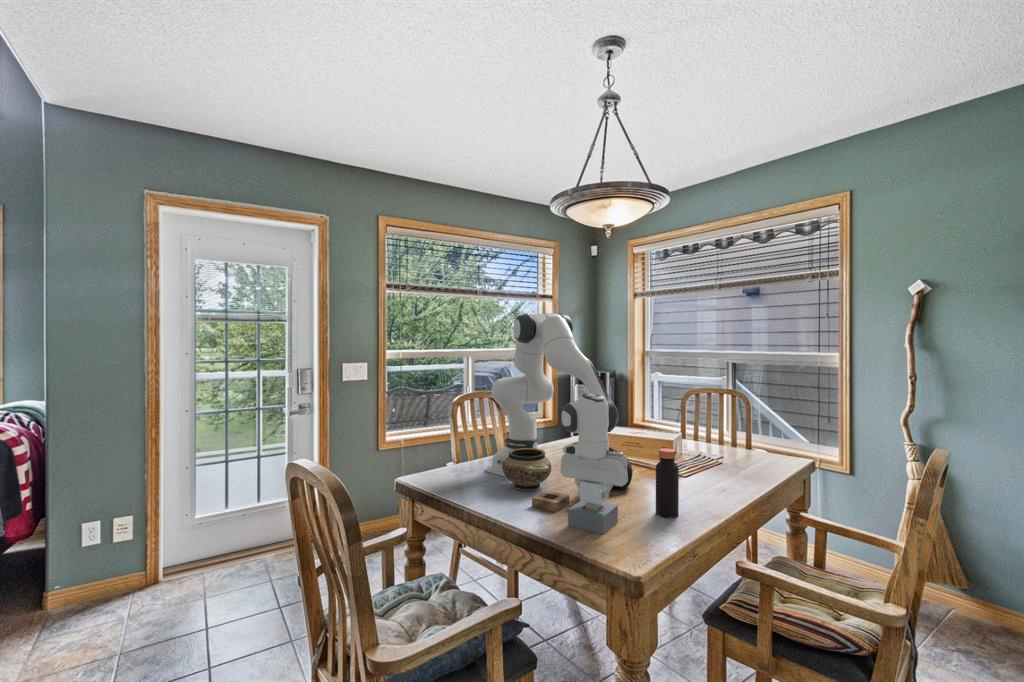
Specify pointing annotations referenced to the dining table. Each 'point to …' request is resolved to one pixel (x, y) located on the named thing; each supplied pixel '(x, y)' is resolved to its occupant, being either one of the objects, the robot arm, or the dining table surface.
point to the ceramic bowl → (526, 468)
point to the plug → (592, 494)
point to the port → (593, 517)
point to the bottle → (667, 484)
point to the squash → (629, 470)
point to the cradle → (550, 501)
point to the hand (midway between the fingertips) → (593, 495)
